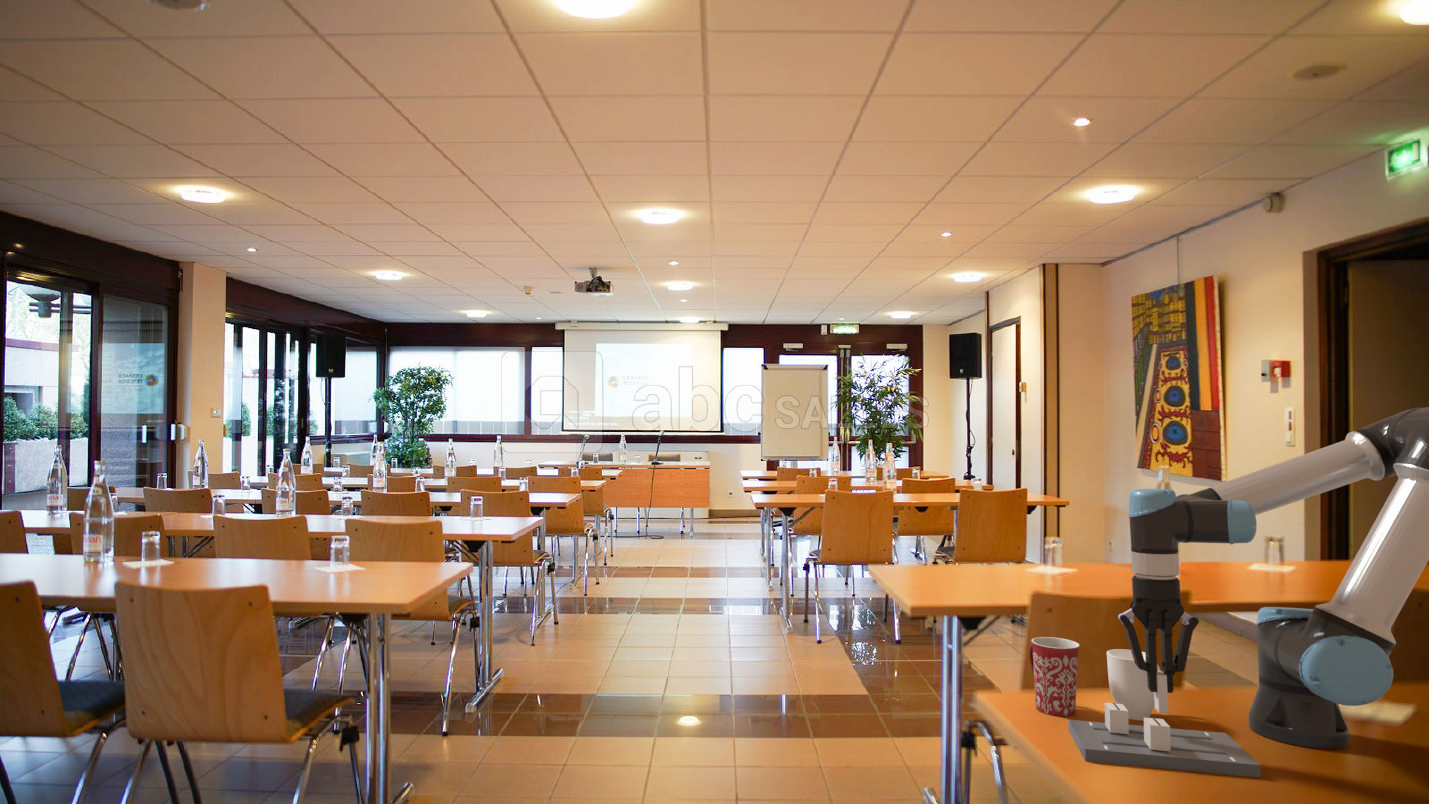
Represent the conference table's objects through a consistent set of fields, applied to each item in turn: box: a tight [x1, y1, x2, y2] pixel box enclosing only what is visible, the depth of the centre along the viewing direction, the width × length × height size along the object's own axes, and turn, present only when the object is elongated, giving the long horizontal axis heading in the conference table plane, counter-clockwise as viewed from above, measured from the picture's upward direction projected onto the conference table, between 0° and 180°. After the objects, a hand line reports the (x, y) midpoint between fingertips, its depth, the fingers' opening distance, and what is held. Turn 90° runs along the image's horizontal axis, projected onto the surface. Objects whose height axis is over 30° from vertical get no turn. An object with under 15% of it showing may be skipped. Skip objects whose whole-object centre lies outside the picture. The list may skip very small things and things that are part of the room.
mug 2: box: [1106, 648, 1162, 721], centre depth 160 cm, size 12×9×12 cm
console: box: [1068, 719, 1262, 779], centre depth 140 cm, size 26×15×2 cm, turn 76°
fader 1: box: [1104, 702, 1130, 734], centre depth 145 cm, size 3×4×4 cm
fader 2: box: [1143, 717, 1171, 751], centre depth 137 cm, size 3×4×4 cm
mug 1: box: [1029, 636, 1081, 717], centre depth 164 cm, size 13×9×14 cm
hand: (1161, 710), depth 144 cm, fingers closed
